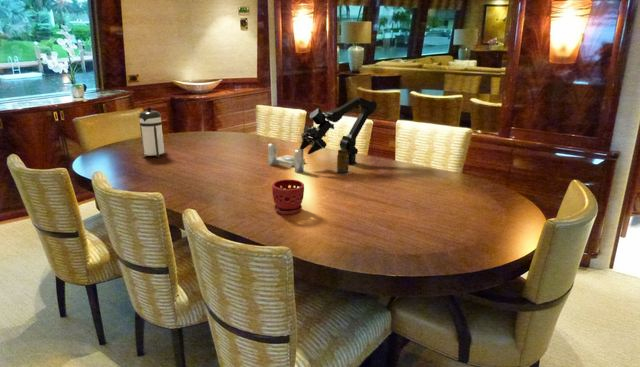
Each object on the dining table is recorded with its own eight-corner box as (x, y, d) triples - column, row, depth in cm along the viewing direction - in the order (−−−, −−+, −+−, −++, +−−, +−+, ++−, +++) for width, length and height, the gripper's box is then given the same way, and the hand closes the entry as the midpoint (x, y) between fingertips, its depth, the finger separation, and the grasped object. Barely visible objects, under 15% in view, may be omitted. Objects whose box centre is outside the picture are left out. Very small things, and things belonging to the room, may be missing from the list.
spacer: (278, 164, 265) (278, 144, 261) (272, 166, 261) (272, 145, 258) (272, 163, 268) (272, 142, 264) (266, 165, 264) (266, 144, 261)
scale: (304, 162, 269) (304, 156, 268) (290, 166, 260) (290, 161, 259) (287, 158, 277) (286, 153, 276) (272, 162, 269) (272, 157, 268)
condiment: (346, 169, 255) (346, 148, 251) (352, 173, 247) (352, 151, 244) (333, 170, 253) (333, 149, 249) (339, 175, 245) (340, 152, 241)
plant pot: (267, 214, 191) (266, 186, 188) (281, 204, 203) (280, 177, 199) (296, 218, 187) (296, 190, 183) (309, 207, 198) (308, 180, 195)
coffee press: (172, 156, 283) (167, 107, 274) (145, 160, 275) (139, 109, 266) (163, 151, 297) (158, 103, 288) (137, 154, 289) (131, 105, 279)
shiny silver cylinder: (305, 171, 252) (305, 149, 248) (299, 173, 248) (299, 151, 244) (298, 169, 254) (298, 148, 251) (292, 171, 251) (292, 150, 247)
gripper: (304, 117, 255) (286, 139, 253) (321, 123, 240) (302, 146, 237) (316, 130, 261) (299, 152, 259) (334, 136, 246) (316, 159, 244)
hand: (303, 152), depth 250 cm, fingers open, 9 cm apart
